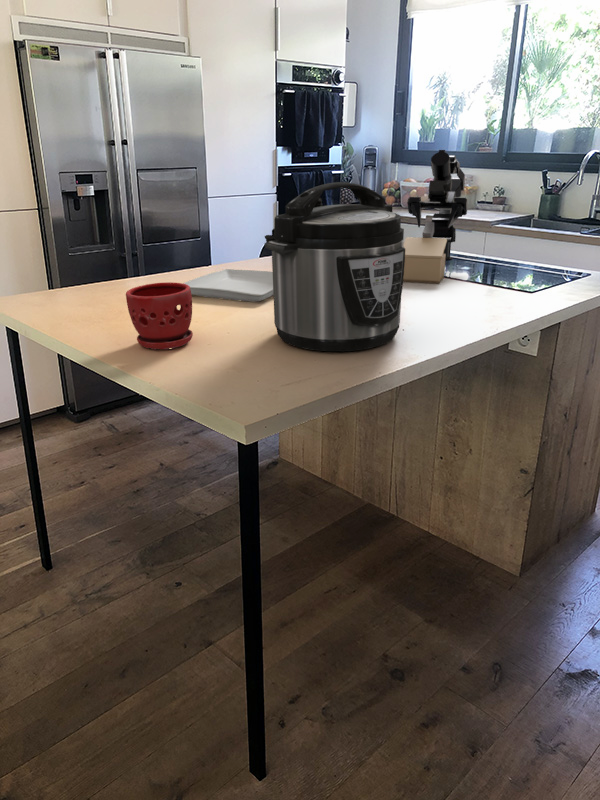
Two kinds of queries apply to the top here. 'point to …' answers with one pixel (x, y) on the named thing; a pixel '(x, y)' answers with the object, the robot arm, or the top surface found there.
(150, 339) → the plant pot
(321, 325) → the pressure cooker
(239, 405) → the top surface
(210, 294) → the square plate
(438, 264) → the carton
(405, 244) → the lid
